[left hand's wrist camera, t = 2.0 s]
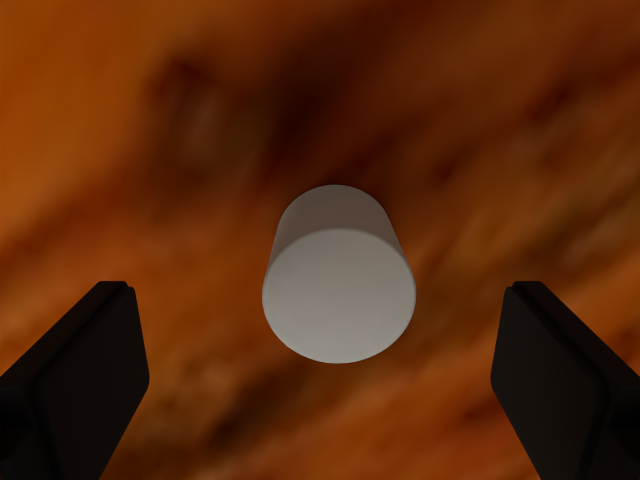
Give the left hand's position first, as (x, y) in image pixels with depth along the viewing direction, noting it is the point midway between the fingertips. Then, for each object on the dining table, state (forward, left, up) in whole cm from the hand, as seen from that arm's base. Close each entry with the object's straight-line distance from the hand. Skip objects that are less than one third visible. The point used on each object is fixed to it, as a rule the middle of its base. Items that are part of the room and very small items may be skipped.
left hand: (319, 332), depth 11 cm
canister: (0, 0, -6) cm, 6 cm away
